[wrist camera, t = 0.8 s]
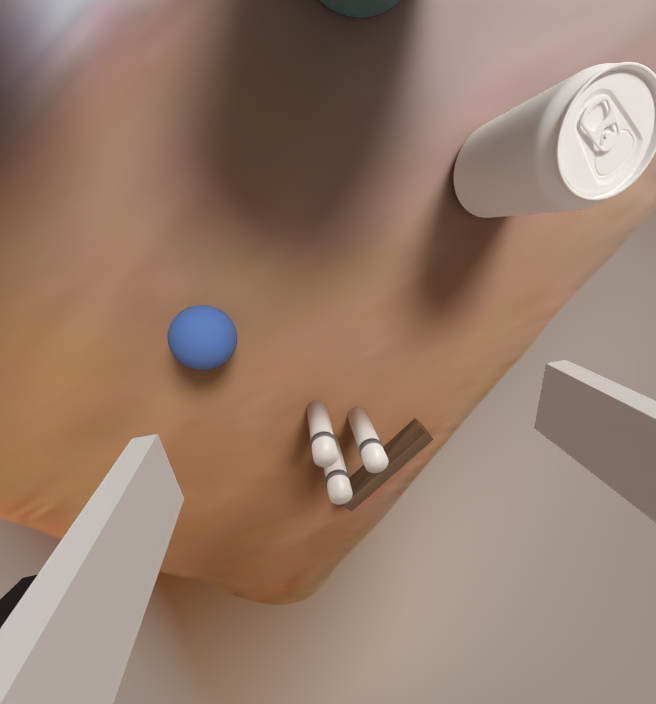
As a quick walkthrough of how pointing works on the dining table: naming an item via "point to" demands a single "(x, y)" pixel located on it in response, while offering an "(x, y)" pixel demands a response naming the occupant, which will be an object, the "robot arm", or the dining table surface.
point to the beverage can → (562, 145)
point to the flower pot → (360, 7)
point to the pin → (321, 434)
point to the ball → (202, 337)
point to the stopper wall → (398, 456)
